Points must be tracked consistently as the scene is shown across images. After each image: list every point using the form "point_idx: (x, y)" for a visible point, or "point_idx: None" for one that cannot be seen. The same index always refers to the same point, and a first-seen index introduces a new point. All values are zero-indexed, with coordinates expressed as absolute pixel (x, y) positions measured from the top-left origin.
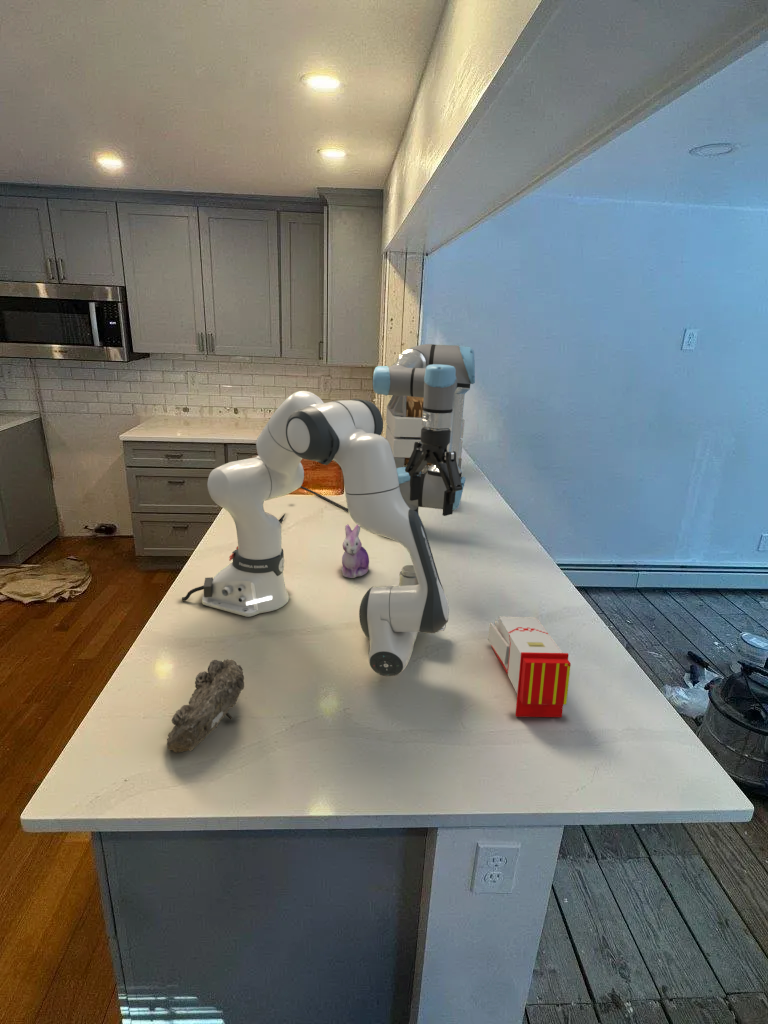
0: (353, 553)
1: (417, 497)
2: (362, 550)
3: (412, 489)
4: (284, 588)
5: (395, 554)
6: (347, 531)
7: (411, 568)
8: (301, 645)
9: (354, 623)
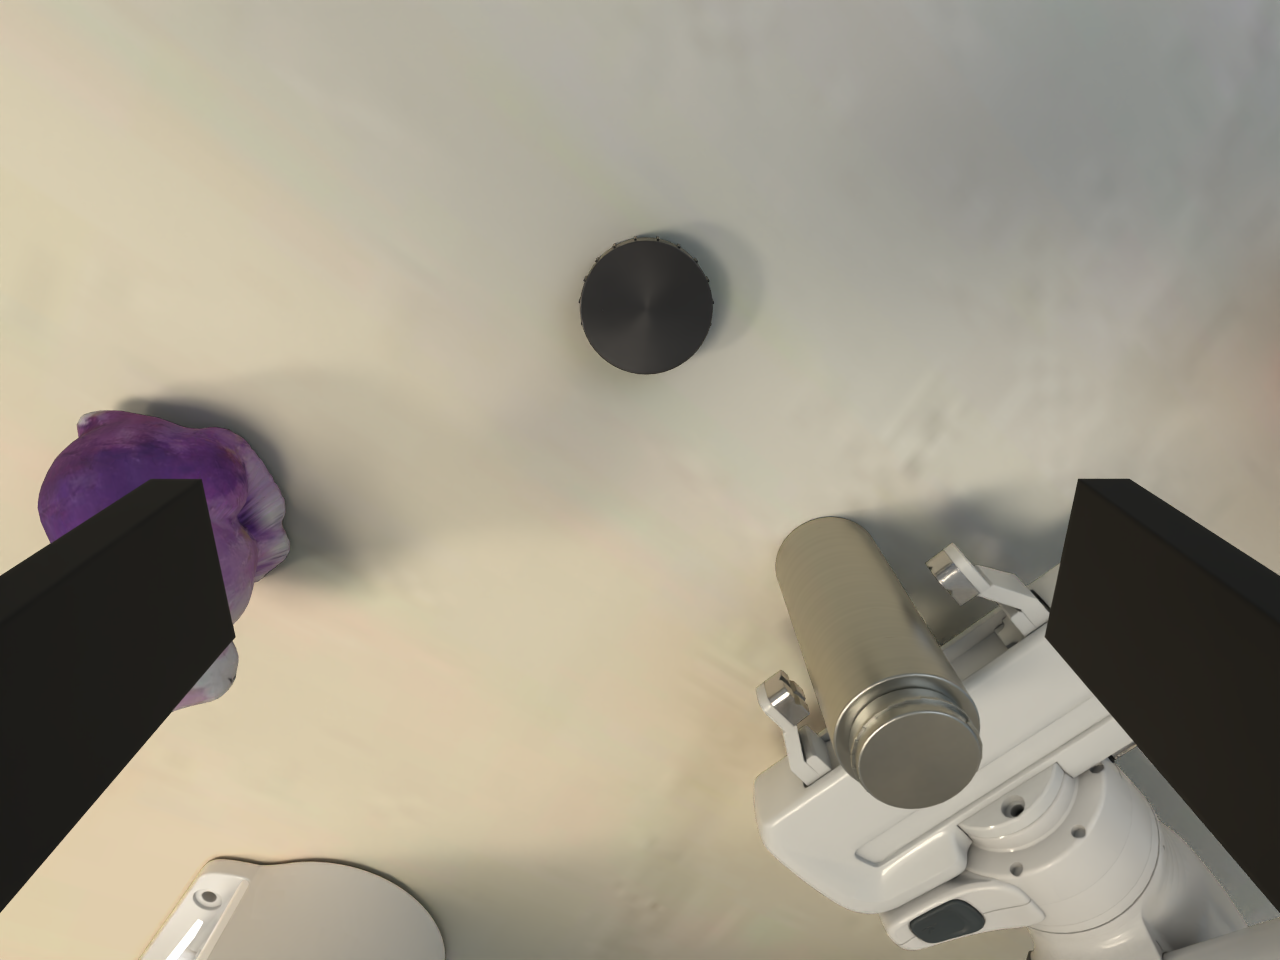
0: (237, 660)
1: (186, 533)
2: None
3: (108, 773)
4: (368, 948)
5: (23, 80)
6: None
7: (922, 758)
8: (724, 957)
9: (703, 756)
